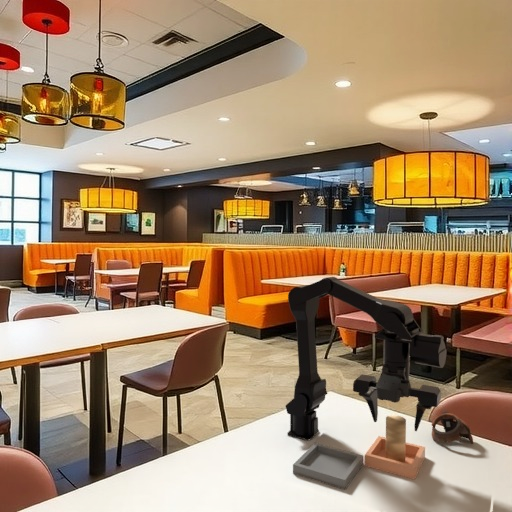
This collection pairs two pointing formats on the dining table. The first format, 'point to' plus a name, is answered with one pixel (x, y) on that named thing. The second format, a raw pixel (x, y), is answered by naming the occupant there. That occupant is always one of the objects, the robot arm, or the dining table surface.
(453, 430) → the dark brown vr controller
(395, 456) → the maple peg
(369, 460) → the terracotta dish
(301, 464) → the charcoal tray
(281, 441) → the dining table surface
